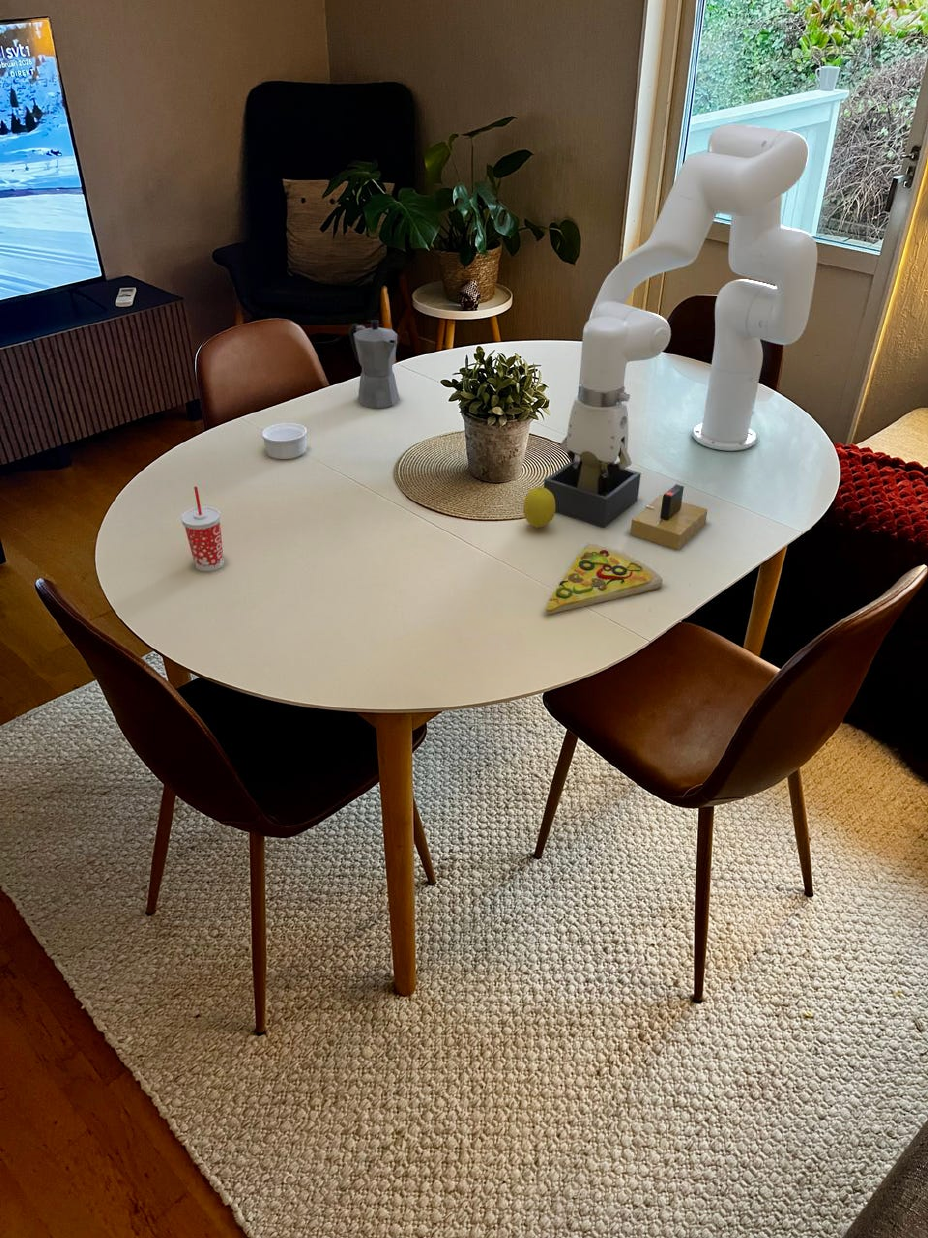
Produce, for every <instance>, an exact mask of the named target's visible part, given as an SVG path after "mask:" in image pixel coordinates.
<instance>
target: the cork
mask: <svg viewBox="0 0 928 1238" xmlns="http://www.w3.org/2000/svg"><path fill="white" fill-rule="evenodd" d="M580 459H581V461H582V465H581V472H580V476H579V481H578V485H577V488H579V489H582V490H585V491H588V492H592V493H595V494H598V479H599V477H600V476H601V475H602V470H601V463H602V461H601V460H598V459H597V457H596V456H595V455H594V454H593V453H591V452H588V451H584V452H582V453H581V454H580ZM602 496H604V497H605V496H607V493H606V492H604V493H603V495H602Z"/></svg>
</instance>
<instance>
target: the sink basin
mask: <svg viewBox="0 0 928 1238" xmlns="http://www.w3.org/2000/svg"><path fill="white" fill-rule="evenodd" d="M641 475H642V474H641V472H639V471H636V470H632V469H628V468H624V469H621V470H617V471H616V472H615V473H613V474H612V479H611V488H610V490H609V492H607V496H605V497H604V496H601V495H598V494H595V493H592V492H588V491H585V490H582V489H579V488H576V487H575V482H574V480H575V468H573V463H572V461H571V460H570V461H569V462H568V463H566V464H565V465H564V466H562V467H561V468H559V469H558V470H556V471H555V472H553V473H552V474H550V475H549V476H548V477H546V478H544V480H543V487H544V488H546V489H548V490H549V491H550V492H551V493H552V494H553V496H554V499H555V513H558V514H561V515H563V516H567V517H570V518H572V519H576V520H578V521H582V522H584V523H588V524H590V525H594V526H596V527H599V528H602V529H605V528H606V527H607V526H609V524H611V522H613V521H615V520H616V519H617V518H618V517H619V516H621V515H622V514H623V513H624V512H626V511H627V510H628V509H629V508H630V507H631V506H632V505H634V504H635V503H636V502H638V500H639V499H638V498H639V491H640V483H641Z"/></svg>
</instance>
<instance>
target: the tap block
mask: <svg viewBox="0 0 928 1238" xmlns="http://www.w3.org/2000/svg"><path fill="white" fill-rule="evenodd" d="M663 495H664V494H660V495H659V496H658V497H657V498H655V499H654V500H653V501H652V502H650V503H649V504H648V505H645V507H644V509H642V510H641V511H640V512H639V513H637V514H636V515H635V516H634V517H633V518H632V519H631V525H630V533H629V535H630V536H634V537H637V538H640V539H643V540H646V541H649V542H651V543H655V544H658V545H661V546H664V547H667V548H670V549H673V550H676V551H679V550H680V549H681V548H682V547H683V546H684V545H685V544H686V543H688V542H689V540H690V539H691V538H692V537H693V536H695V535H696V534H697V533H698V532H699V531H700V530H701V529H702V528H704V526H705V525H706V521H707V518H708V517H707V516H708V510H709V509H708V508H705V507H702V506H699V505H695V504H693V503H689V502H685V501H682V503H681V509H680V510H679V511H678V512H677V513H676V514H675V515H674V516H672V517H671V518H670V519H669V520H668V521H667V520H664V519H661V518H660V515H661V508H662V501H663Z"/></svg>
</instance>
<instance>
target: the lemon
mask: <svg viewBox="0 0 928 1238" xmlns="http://www.w3.org/2000/svg"><path fill="white" fill-rule="evenodd" d="M522 504H523V506H522V511H523V516H524V519H525V521H526V522H527V523H528V524H529V525H531V526H533V527H535V528H536V529H540V528H542V527H545V526H547V525H549V524H550V523H551V522H552V521H553V519H554V517H555V514H556V512H555V499H554V496H553V494H552V493H551V492H550V491H549V490H548V489H546V488H544V486H541V485H540V486H539V485H538V486H536V487H533V488H532V489H530V490H529V491H528V492H527V493H526V494H525V497H524V501H523V503H522Z"/></svg>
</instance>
